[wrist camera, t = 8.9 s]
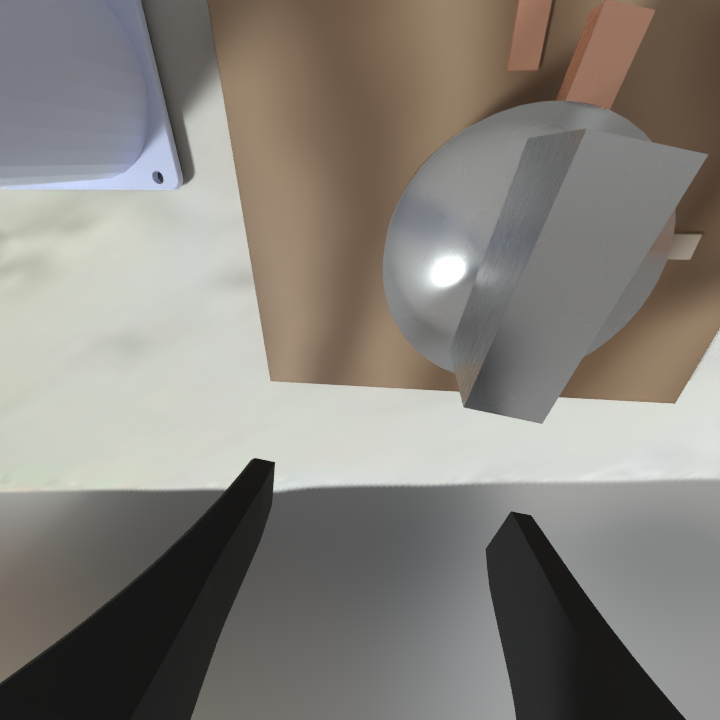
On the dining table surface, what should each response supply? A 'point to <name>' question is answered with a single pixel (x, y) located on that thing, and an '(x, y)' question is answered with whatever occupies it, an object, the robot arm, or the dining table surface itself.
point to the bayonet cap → (537, 231)
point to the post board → (414, 145)
